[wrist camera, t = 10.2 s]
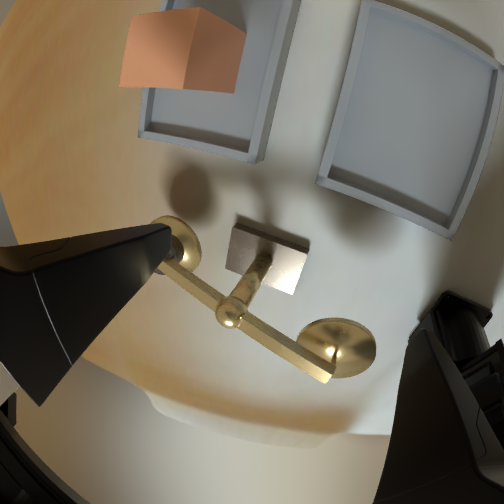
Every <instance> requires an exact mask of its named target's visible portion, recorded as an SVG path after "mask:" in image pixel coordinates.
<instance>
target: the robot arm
mask: <svg viewBox="0 0 504 504" xmlns="http://www.w3.org/2000/svg"><path fill="white" fill-rule="evenodd" d="M171 236H172V229H171V227H170V226H168V225H166V224H163V223H155V224H148V225H141V226H135V227H128V228H122V229H115V230H109V231H103V232H97V233H91V234H85V235H79V236H74V237H71V238H70V237H68V238H63V239H57V240H51V241H45V242H38V243H31V244H23V245H16V246H9V247H0V504H90V503H89V502H88V501H86V500H85V499H84V498H83V497H81V496H80V495H79V494H78V493H77V492H75V491H74V490H73V489H72V488H71V487H69V486H68V485H67V484H66V483H65V482H64V481H63V480H62V479H61V478H60V477H58V476H57V475H56V474H55V473H54V472H53V471H52V470H51V469H50V468H49V467H48V466H47V465H46V464H45V463H44V462H43V461H42V460H41V459H40V458H39V457H38V455H37V454H36V453H35V452H34V451H33V450H32V449H31V448H30V447H29V445H28V444H27V443H26V442H25V441H24V440H23V438H22V437H21V436H20V435H19V434H18V432H17V431H16V430H15V428H14V425H15V424H16V393H15V392H14V391H15V390H16V389H17V388H18V387H19V386H20V387H21V388H22V389H23V390H24V392H25V393H26V394H27V395H28V396H29V397H30V398H31V399H32V400H33V401H34V402H35V403H36V404H37V405H38V407H40V406H41V405H42V404H43V403H44V401H45V400H46V399H47V397H48V396H49V395H50V393H51V392H52V391H53V390H54V388H55V387H56V386H57V384H58V383H59V382H60V381H61V379H62V378H63V377H64V376H65V374H66V373H67V372H68V371H69V369H70V368H71V367H72V365H73V364H74V363H75V362H76V361H77V360H78V358H79V357H80V356H81V355H82V354H83V352H84V351H85V350H86V349H87V348H88V346H89V345H90V344H91V343H92V342H93V341H94V339H95V338H96V337H97V336H98V335H99V334H100V333H101V331H102V330H103V329H104V328H105V327H106V326H107V325H108V323H109V322H110V321H111V320H112V319H113V318H114V317H115V316H116V315H117V313H118V312H119V311H120V310H121V309H122V308H123V307H124V306H125V305H126V304H127V302H128V301H129V300H130V299H131V298H132V297H133V296H134V295H135V294H136V293H137V292H138V291H139V290H140V288H141V287H142V286H143V285H144V284H145V283H146V282H147V280H148V279H149V278H150V277H151V275H152V274H153V273H154V271H155V270H156V269H157V267H158V266H159V265H160V264H161V262H162V261H163V260H164V258H165V257H166V256H167V255H168V253H169V251H170V249H171ZM448 296H449V297H448ZM446 297H448V298H446ZM487 315H488V316H487ZM492 315H493V314H492V312H491V310H490V309H488V308H485V307H483V306H481V305H479V304H477V303H475V302H472V301H470V300H468V299H466V298H464V297H461V296H459V295H457V294H455V293H452V292H450V291H446V292H444V293H443V294H442V295H441V297H440V298H439V300H438V301H437V303H436V304H435V306H434V307H433V308H432V310H431V311H430V312H429V313H428V314H427V315H426V317H425V318H424V320H423V321H422V322H421V324H420V325H419V326H418V327H417V329H416V330H415V332H414V334H413V335H412V336H411V337H410V339H409V340H408V346H407V348H406V352H405V358H404V364H403V369H402V374H401V379H400V383H399V389H398V395H397V403H396V410H395V416H394V422H393V427H392V433H391V438H390V443H389V447H388V452H387V456H386V460H385V464H384V468H383V472H382V475H381V479H380V482H379V486H378V489H377V492H376V496H375V498H374V502H373V504H504V344H503V342H502V339H500V340H498V341H497V342H495V343H496V344H495V345H493V346H492V347H490V345H489V342H488V339H487V336H486V334H485V331H484V327H485V326H486V324H487V323H488V322H489V320H490V319H491V318H492Z"/></svg>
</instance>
